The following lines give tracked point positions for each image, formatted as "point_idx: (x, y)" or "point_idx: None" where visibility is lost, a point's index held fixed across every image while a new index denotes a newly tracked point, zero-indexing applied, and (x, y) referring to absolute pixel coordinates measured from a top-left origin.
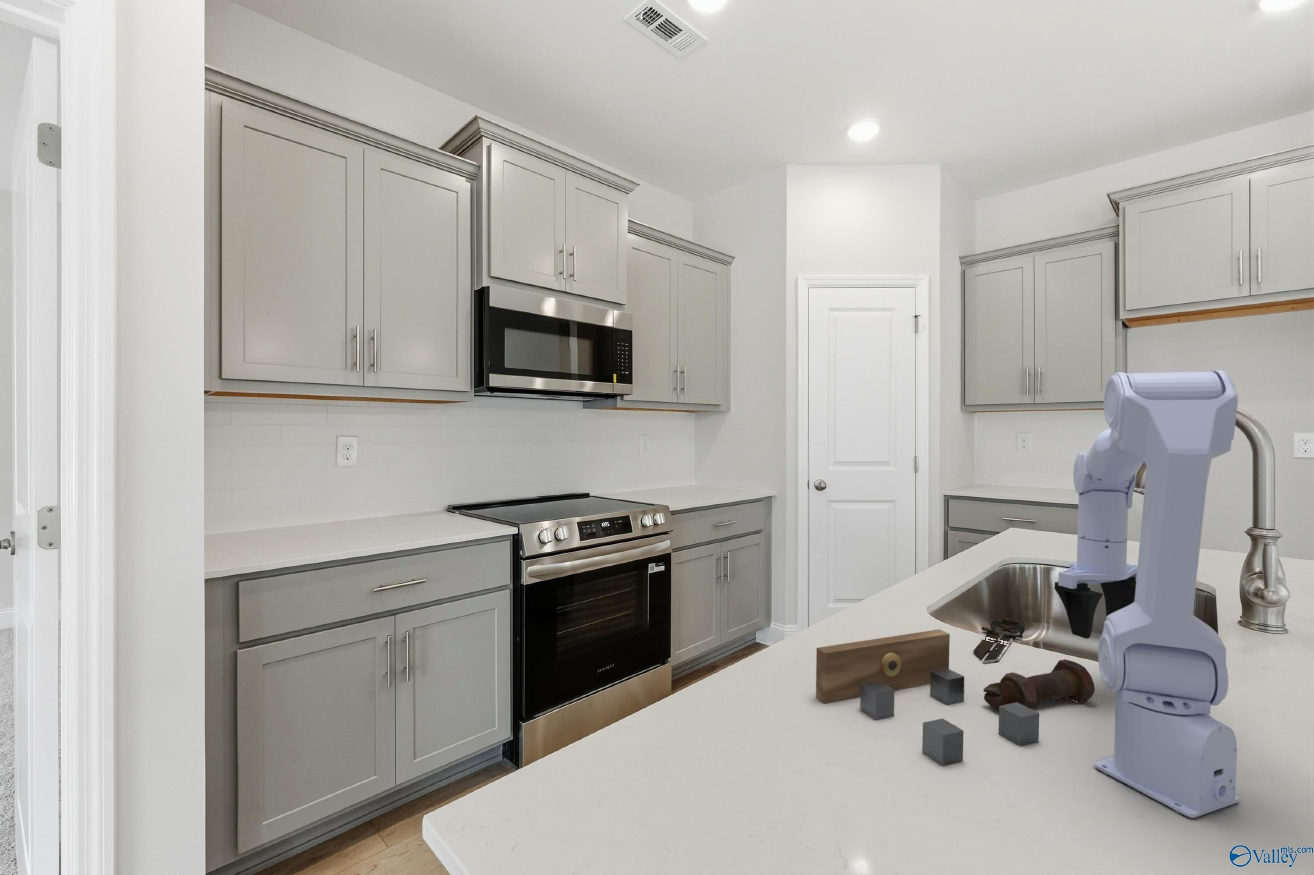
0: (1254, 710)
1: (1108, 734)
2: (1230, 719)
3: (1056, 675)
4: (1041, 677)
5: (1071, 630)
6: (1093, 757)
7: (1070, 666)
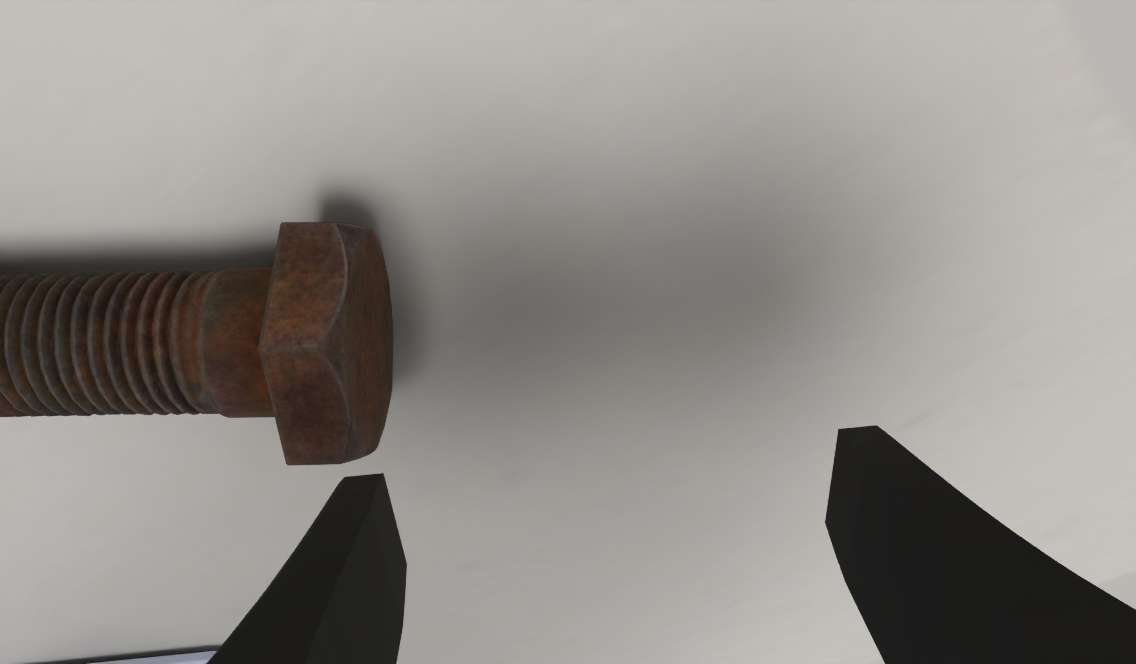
0: (1019, 525)
1: (233, 547)
2: None
3: (165, 395)
4: (40, 394)
5: (334, 493)
6: (42, 630)
7: (275, 417)
